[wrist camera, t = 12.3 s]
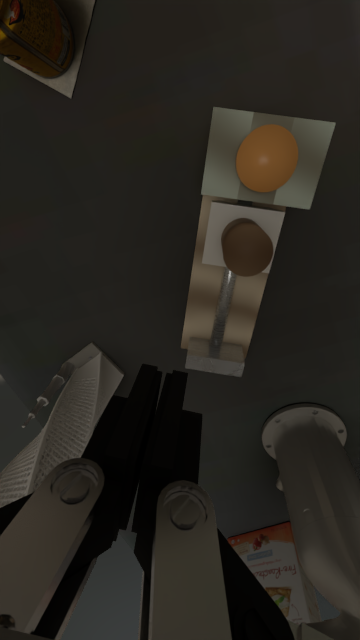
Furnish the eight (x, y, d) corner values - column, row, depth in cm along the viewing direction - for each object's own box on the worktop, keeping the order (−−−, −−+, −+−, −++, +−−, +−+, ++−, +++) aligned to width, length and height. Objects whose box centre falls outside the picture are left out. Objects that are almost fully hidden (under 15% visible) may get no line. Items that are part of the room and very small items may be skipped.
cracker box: (288, 518, 56) (325, 688, 38) (302, 535, 58) (344, 705, 40) (225, 536, 61) (230, 695, 42) (239, 551, 63) (251, 710, 44)
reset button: (279, 194, 25) (288, 196, 23) (229, 186, 26) (231, 188, 23) (294, 134, 23) (306, 128, 21) (240, 127, 24) (243, 120, 21)
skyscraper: (99, 336, 43) (-62, 561, 18) (136, 374, 45) (40, 620, 20) (62, 363, 46) (-122, 590, 21) (98, 398, 48) (-27, 639, 23)
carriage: (263, 263, 34) (280, 293, 25) (203, 254, 34) (199, 281, 25) (276, 208, 31) (302, 220, 22) (211, 199, 32) (211, 207, 23)
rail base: (244, 352, 41) (252, 397, 33) (181, 342, 42) (173, 384, 33) (300, 138, 30) (335, 122, 21) (213, 126, 30) (213, 106, 22)
